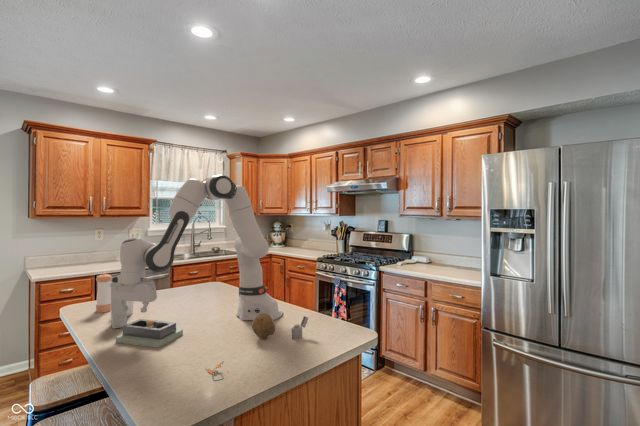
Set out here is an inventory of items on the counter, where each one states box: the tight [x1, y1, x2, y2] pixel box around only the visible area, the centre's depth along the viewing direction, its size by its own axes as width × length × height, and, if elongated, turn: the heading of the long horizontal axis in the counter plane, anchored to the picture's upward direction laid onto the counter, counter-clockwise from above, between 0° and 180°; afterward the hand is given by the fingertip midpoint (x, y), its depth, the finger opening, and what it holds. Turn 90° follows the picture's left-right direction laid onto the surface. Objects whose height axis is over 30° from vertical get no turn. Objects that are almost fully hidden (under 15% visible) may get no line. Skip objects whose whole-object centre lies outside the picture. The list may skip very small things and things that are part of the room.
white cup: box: [126, 301, 134, 317], centre depth 170 cm, size 8×8×10 cm
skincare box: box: [110, 298, 128, 329], centre depth 154 cm, size 8×6×15 cm
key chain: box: [205, 360, 229, 382], centre depth 111 cm, size 13×7×1 cm, turn 28°
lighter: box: [291, 315, 309, 341], centre depth 139 cm, size 7×2×8 cm, turn 124°
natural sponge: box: [251, 313, 276, 340], centre depth 138 cm, size 9×9×10 cm
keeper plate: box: [115, 319, 184, 348], centre depth 139 cm, size 20×14×7 cm
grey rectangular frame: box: [122, 318, 177, 340], centre depth 139 cm, size 18×9×4 cm, turn 74°
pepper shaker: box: [95, 272, 113, 313], centre depth 177 cm, size 7×7×19 cm
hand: (134, 311), depth 141 cm, fingers open, 8 cm apart
